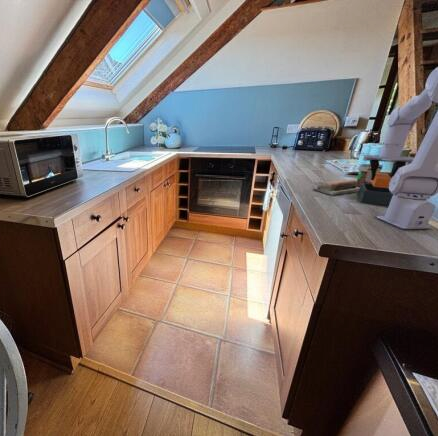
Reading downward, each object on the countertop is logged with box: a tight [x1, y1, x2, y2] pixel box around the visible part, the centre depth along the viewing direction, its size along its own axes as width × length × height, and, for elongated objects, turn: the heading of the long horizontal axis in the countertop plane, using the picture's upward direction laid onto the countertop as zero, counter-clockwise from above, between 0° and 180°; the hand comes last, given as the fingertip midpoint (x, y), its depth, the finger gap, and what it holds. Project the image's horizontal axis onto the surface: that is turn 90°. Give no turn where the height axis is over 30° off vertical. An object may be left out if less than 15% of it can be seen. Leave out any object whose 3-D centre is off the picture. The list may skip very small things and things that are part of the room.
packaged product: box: [312, 178, 360, 196], centre depth 111 cm, size 18×5×10 cm
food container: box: [356, 163, 384, 188], centre depth 117 cm, size 12×6×10 cm, turn 113°
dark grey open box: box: [357, 183, 393, 207], centre depth 98 cm, size 15×12×5 cm
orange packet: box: [370, 172, 391, 188], centre depth 95 cm, size 11×4×4 cm, turn 146°
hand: (380, 180), depth 95 cm, fingers closed on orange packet, 4 cm apart
